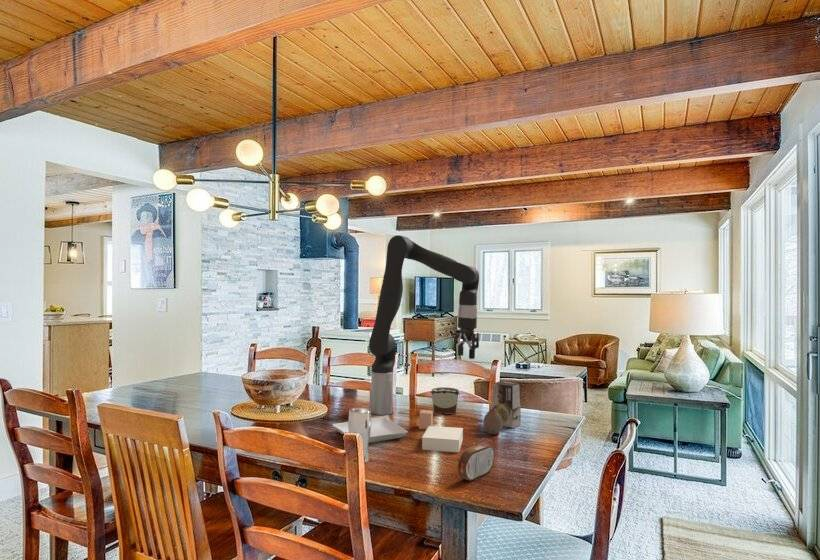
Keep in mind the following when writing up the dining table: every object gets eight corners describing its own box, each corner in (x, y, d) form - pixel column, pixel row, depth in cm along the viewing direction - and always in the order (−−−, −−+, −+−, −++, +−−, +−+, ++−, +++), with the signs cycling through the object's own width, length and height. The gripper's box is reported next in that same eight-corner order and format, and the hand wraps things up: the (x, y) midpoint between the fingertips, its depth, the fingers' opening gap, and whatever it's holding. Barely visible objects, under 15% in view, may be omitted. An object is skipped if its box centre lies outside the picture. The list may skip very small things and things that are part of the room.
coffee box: (521, 425, 191) (521, 383, 192) (512, 428, 187) (512, 385, 187) (501, 420, 198) (501, 380, 198) (492, 423, 193) (492, 382, 193)
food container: (459, 410, 213) (459, 387, 214) (459, 414, 207) (459, 390, 208) (431, 409, 215) (431, 386, 215) (430, 413, 209) (430, 389, 209)
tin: (487, 468, 144) (487, 439, 145) (496, 471, 142) (497, 441, 142) (456, 482, 133) (456, 451, 134) (465, 485, 131) (466, 453, 131)
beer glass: (348, 456, 153) (348, 407, 153) (370, 455, 154) (371, 407, 154) (347, 464, 146) (348, 413, 146) (370, 463, 147) (371, 413, 147)
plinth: (422, 449, 160) (422, 437, 160) (428, 437, 174) (428, 425, 174) (458, 452, 158) (459, 440, 158) (462, 439, 172) (462, 428, 172)
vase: (503, 431, 183) (503, 407, 183) (500, 436, 176) (501, 412, 176) (485, 429, 185) (485, 406, 185) (481, 434, 178) (481, 410, 178)
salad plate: (351, 449, 161) (351, 438, 161) (331, 432, 180) (331, 422, 180) (409, 440, 171) (409, 431, 171) (383, 425, 189) (384, 416, 189)
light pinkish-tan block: (419, 428, 184) (419, 412, 185) (421, 425, 189) (421, 410, 189) (430, 429, 184) (431, 413, 184) (432, 426, 188) (432, 410, 188)
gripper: (450, 315, 201) (448, 354, 201) (468, 317, 188) (467, 360, 188) (466, 315, 204) (464, 354, 204) (485, 317, 191) (483, 359, 191)
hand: (466, 357), depth 196 cm, fingers open, 8 cm apart
